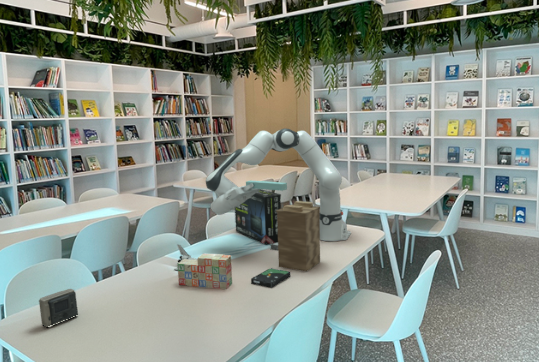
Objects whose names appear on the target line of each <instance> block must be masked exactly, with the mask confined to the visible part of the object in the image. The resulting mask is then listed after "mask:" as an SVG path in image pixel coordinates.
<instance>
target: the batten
mask: <svg viewBox="0 0 539 362" xmlns="http://www.w3.org/2000/svg"><path fill="white" fill-rule="evenodd" d="M251 183H254V185H255V186H254V187H253V188H254V189H262V190H266V191H281V192H283V191H286V190H288V183H287V182H279V181H263V180H252V179H251V180H246V181H245V186H247V185H249V184H251Z"/></svg>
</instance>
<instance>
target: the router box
mask: <svg viewBox="0 0 539 362" xmlns="http://www.w3.org/2000/svg"><path fill="white" fill-rule="evenodd" d="M281 197H282V194H281V193H277V192H273V191H271V190H267V189H260V190H259V191H258V192H257V193H255V194H254V195H252V196H251V198H250V199H248V200H246V201H245V202H243V203H242V204H240V205H239V206H237V207H234V218H235V220H234V223H235V232H237V233H239V234H241V235H243V236H245V237H248V238H250V239H252V240H254V241H256V242H259V243H260V244H263V245H265V246H267V245H272V244H274V243H278V225H277V212H276V210H279V209H281V208H282V203H281V202H282V201H281Z"/></svg>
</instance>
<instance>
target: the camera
mask: <svg viewBox="0 0 539 362" xmlns="http://www.w3.org/2000/svg"><path fill="white" fill-rule="evenodd" d="M38 304H39V311H40V319H41V325H42V326H43V325H44V326H43V327H45V326H46V327H48V326H50V325H53V324H56V323H58V322H61V321H63V320H66V319H69V318H71V317H73V316H76V315H78V316H79V312H78V303H77V295H76V291H75V289H72V288H67V289H63V290H60V291H57V292H55V293H52V294H48V295H46V296H43V297H40V298H39V300H38ZM46 327H45V328H46Z"/></svg>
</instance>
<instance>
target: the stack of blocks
mask: <svg viewBox="0 0 539 362" xmlns="http://www.w3.org/2000/svg"><path fill="white" fill-rule="evenodd" d="M196 259H198V260H190V259H183V260H182V261H181V262H177V263H178V264H177V263H176V264H177V267H178V270H177V276H178V278H177V279H178V286H186V285H187V286H186V287H195V288H196V287H197V288H198V287H200V288H209V289H210V288H212V289H222V290H228V288H229V287H230V286H231V285H232V284H233V275H232V274H233V273H232V272H233V271H232V269H233V268H232V265H233V264H232V255H230V254H221V253H202V254H200V255H199V256H198V257H197V258H196Z"/></svg>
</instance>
